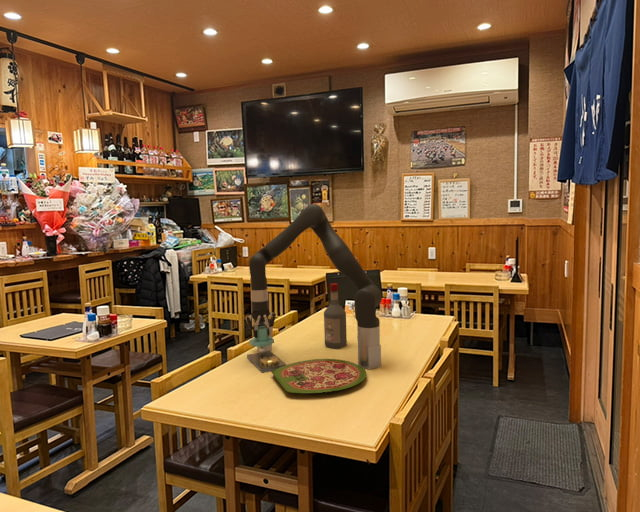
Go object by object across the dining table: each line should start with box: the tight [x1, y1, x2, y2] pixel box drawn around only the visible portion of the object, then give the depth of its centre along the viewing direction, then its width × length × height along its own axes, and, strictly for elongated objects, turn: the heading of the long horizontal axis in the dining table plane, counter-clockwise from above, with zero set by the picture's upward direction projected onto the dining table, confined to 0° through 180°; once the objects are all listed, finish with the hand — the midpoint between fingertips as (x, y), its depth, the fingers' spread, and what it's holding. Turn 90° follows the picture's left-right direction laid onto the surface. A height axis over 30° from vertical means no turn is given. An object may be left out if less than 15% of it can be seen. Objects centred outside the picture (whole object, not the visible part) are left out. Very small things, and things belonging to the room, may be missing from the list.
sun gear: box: [260, 356, 280, 366], centre depth 201 cm, size 8×8×2 cm
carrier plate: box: [246, 347, 288, 373], centre depth 205 cm, size 21×11×6 cm, turn 25°
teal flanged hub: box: [248, 326, 275, 348], centre depth 209 cm, size 10×10×7 cm
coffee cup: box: [256, 317, 274, 353], centre depth 222 cm, size 9×9×15 cm
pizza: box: [271, 358, 367, 394], centre depth 185 cm, size 35×35×2 cm
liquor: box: [323, 282, 348, 350], centre depth 225 cm, size 9×9×30 cm
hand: (261, 337), depth 209 cm, fingers closed on teal flanged hub, 4 cm apart
